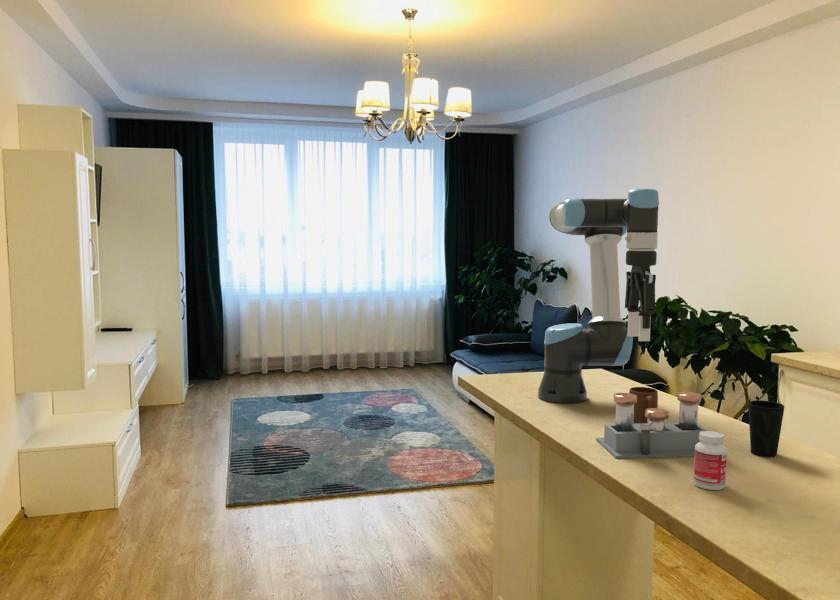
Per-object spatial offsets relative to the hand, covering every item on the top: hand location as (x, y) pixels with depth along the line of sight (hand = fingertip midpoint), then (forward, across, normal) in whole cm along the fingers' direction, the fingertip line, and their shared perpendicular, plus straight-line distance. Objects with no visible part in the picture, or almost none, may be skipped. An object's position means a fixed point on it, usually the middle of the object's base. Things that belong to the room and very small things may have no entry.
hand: (638, 338), depth 179 cm
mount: (+25, +13, 0) cm, 28 cm away
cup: (+25, +19, +24) cm, 40 cm away
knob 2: (+20, +13, +8) cm, 25 cm away
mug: (+25, -6, +5) cm, 26 cm away
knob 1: (+20, +13, -8) cm, 25 cm away
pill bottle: (+25, +38, +1) cm, 46 cm away
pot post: (+24, +19, -5) cm, 31 cm away
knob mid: (+24, +13, 0) cm, 27 cm away
